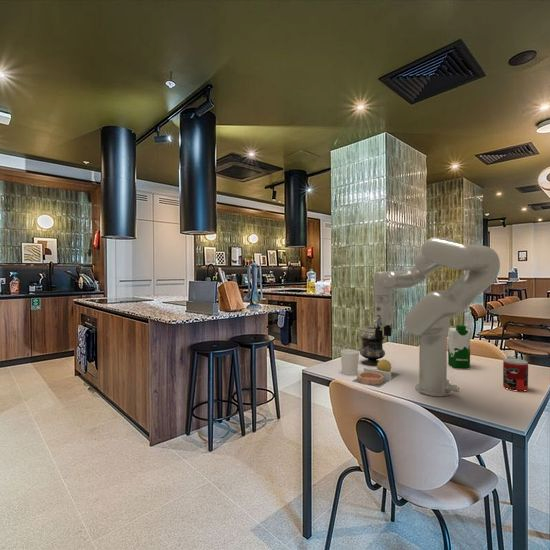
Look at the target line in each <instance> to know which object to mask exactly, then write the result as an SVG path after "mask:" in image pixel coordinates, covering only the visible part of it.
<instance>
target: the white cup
mask: <svg viewBox="0 0 550 550" xmlns="http://www.w3.org/2000/svg"><path fill="white" fill-rule="evenodd" d="M359 354H360V350H357V349H349V348H347V349H341V350H340V362H341V364H340V365H341V372H342V374H343V375H347V376H354V375H356V376H357V374H358V371H359V356H360V355H359Z"/></svg>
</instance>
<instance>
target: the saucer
mask: <svg viewBox="0 0 550 550" xmlns="http://www.w3.org/2000/svg"><path fill="white" fill-rule="evenodd" d="M356 379H358V381H359V382H360V383H359V384H362V383H363V384H362V385H366V384H367V386H370V385H380V384H382V383H383V381H384V376H382V375H381V374H378V373H373V372H364V371H363V372H360V373H357V374H356Z"/></svg>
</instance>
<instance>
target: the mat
mask: <svg viewBox="0 0 550 550" xmlns="http://www.w3.org/2000/svg"><path fill="white" fill-rule="evenodd" d="M374 369H375V368H374ZM375 370H377V369H375ZM389 372H390V373H391V380H386V379H384V381H383V383H382V384H380V385H369V386H371V387H375V388H381V387H383V386H384V385H385V384H387V383H389V382H390V381H392V380H393V379H395V378H396V377H398V376H399V375H400V373H396V372H391V371H389ZM352 382H353V383H359V384H362V385H364V384H363V383H360V382H359V381H358V379H357V378H355V379H353V380H352ZM365 385H367V384H365ZM367 386H368V385H367Z"/></svg>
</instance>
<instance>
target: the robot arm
mask: <svg viewBox="0 0 550 550" xmlns="http://www.w3.org/2000/svg"><path fill="white" fill-rule="evenodd" d="M420 249H421V252H418V254H416V255H415V256H414V257H413V264H414V265H413V266H412V267H410V268H408V269H407V270H389V271H387V270H385V271H384V270H383V271H382V270H381V271H375V272H374V274H373V279H374V280H373V286H374V287H373V290H374V291H373V293H374V294H373V295H374V296H373V301H374V303H375V305H374V320H373V324H374V326H373V327H375V339H379V340H382V339H383V333H384V336H385V337H392V324H393V323H394V318H393V317H394V316H393V315H394V313H393V304H392V303H393V290H394V289H409V288H412V287H414V286H416V285H418V284H420V283H422V282H424V281H425V280H426V279H427V278H428V276H429V274H430V273H432V272H434V271H435V270H437V269H439V268H441V267H442V266H444V267H448V268H449V269H454V270H458V271H466V273H464V274H463V275H462V276H460V277H459V278H458V279H456V280H455V282H454V283H452V285H450V286H449V287H448V288H447V289H442V290H433V291H430V292H428V293H427V294H425V295H424V296H423V297H422V298H421V299H420V300H419V301H418V302H417V304H415V305H414V306H413V308H411V310H409V312H408V313H407V315H406V316H405V321H404V327H405V329H406V330H407V332H408V333H409V334H411V335H412V336H416V337H417V336H418V337H420V339H419V352H418V353H419V354H418V355H419V356H418V357H419V360H418V361H419V364H418V365H419V366H418V367H419V368H418V369H419V370H418V371H419V373H418V374H419V375H418V376H419V381H418V383H416V384H415V385H414V389H415V391H416V392H419V393H420V394H423V395H426V396H430V397H438V398H439V397H440V398H441V397H448V396H451V394H452V392H454V393H459V392H460V387H458V385H457V384H451V383H450V380H449V379H447V375H448V374H447V373H448V372H447V369H448V367H447V366H448V365H447V363H448V331H449V328H450V317H455V316H458V315H460V314H461V313H463V311H465V310H466V309H467V308H468V307H469V306H470V305H471V304H472V303H473V302H474V301H475V300H476V299H478V298H479V296H480V295H481V294H483V292H486V290H487V289H488V288H489V287H490V286H491V285H492V284H493V283H494V281H496V279H497V277H498V275H499V273H500V269H501V261H500V256H499V255H498V253H497V252H496V251H495V250H494V249H493V248H491V247H489V246H487V245H479V244H478V245H477V244H463V243H459V242H458V241H457V240H455V239H454V238H450V237H438V236H436V237H430V238H428V239H426V240H425V241H424V242H423V243H422V246H421V248H420ZM383 340H384V339H383Z"/></svg>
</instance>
